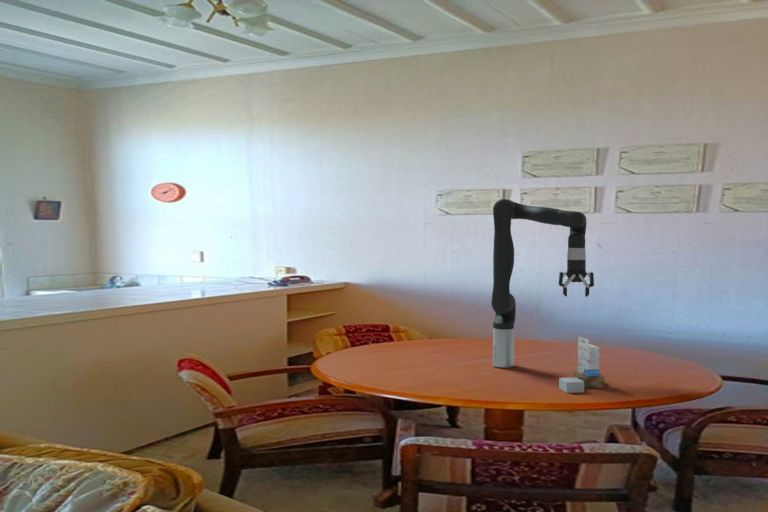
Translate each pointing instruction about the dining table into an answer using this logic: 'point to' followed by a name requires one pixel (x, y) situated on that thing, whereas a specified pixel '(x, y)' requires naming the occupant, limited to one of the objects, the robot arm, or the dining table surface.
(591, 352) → the ink box
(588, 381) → the tan block
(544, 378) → the dining table surface
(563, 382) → the grey block
